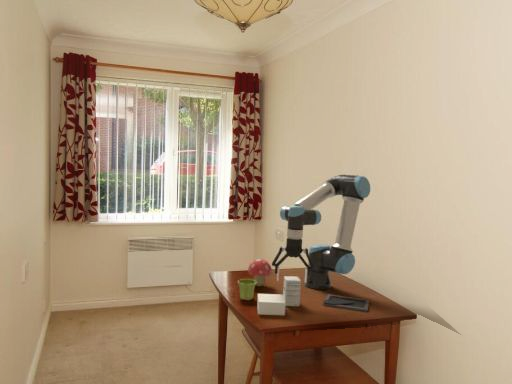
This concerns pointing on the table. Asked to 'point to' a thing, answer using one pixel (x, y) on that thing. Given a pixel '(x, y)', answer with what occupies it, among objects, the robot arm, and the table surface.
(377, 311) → the table surface
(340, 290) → the table surface
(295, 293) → the supplement box
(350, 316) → the table surface
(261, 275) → the decorative mushroom
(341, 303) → the picture frame
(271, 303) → the plinth
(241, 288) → the plant pot
